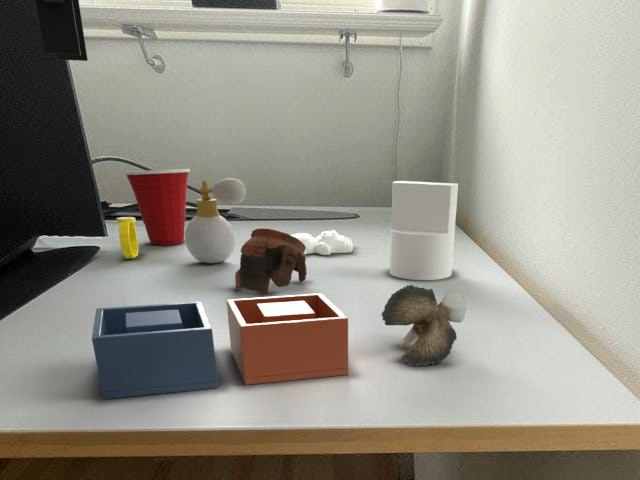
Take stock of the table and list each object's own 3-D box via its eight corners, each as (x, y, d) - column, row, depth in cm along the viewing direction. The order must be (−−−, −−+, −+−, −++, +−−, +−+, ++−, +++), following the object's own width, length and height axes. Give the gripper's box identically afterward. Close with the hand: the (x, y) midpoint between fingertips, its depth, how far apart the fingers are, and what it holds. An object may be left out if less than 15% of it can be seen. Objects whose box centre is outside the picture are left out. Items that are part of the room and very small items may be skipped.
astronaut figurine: (352, 255, 107) (352, 236, 106) (278, 255, 107) (277, 235, 106) (353, 246, 115) (353, 227, 113) (285, 245, 115) (284, 227, 113)
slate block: (133, 362, 60) (125, 312, 57) (184, 357, 61) (178, 309, 59) (134, 379, 56) (125, 327, 54) (188, 374, 57) (182, 322, 55)
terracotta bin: (231, 352, 64) (226, 299, 62) (322, 344, 67) (321, 293, 64) (245, 385, 57) (240, 326, 54) (348, 374, 59) (348, 318, 56)
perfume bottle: (190, 257, 105) (181, 174, 99) (252, 256, 106) (246, 174, 100) (185, 267, 98) (174, 179, 93) (250, 266, 99) (244, 179, 94)
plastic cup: (180, 235, 124) (172, 164, 118) (209, 243, 117) (201, 168, 111) (124, 241, 118) (112, 167, 112) (151, 250, 110) (139, 171, 105)
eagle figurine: (382, 323, 69) (361, 331, 61) (424, 265, 66) (408, 265, 58) (439, 368, 69) (426, 382, 61) (483, 312, 66) (476, 319, 58)
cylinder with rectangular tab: (459, 270, 98) (466, 181, 92) (439, 282, 91) (446, 187, 85) (403, 264, 101) (406, 179, 95) (379, 276, 94) (381, 184, 88)
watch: (137, 261, 102) (130, 220, 99) (118, 261, 102) (111, 220, 99) (144, 254, 107) (138, 215, 104) (126, 254, 107) (120, 215, 104)
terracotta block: (259, 351, 63) (256, 303, 60) (306, 347, 64) (304, 300, 62) (267, 366, 59) (264, 316, 57) (316, 362, 60) (315, 313, 58)
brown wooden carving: (219, 288, 89) (234, 228, 89) (279, 312, 94) (294, 255, 94) (257, 281, 79) (274, 214, 79) (322, 308, 84) (338, 245, 84)
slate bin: (106, 363, 61) (96, 308, 59) (207, 354, 64) (201, 301, 61) (103, 399, 54) (91, 338, 51) (218, 387, 56) (212, 328, 53)
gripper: (53, -362, 40) (109, 52, 51) (77, -209, 61) (113, 63, 71) (-87, -390, 38) (2, 47, 49) (-14, -222, 59) (38, 60, 69)
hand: (68, 58), depth 60 cm, fingers open, 13 cm apart
